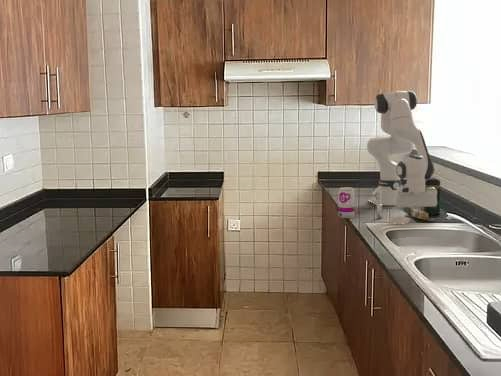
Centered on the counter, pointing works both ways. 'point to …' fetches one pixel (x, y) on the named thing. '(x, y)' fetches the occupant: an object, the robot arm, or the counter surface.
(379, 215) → the locking pin
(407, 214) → the hinge plate
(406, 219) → the socket
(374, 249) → the counter surface
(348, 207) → the supplement can
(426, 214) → the oak leg
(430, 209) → the coffee jar
